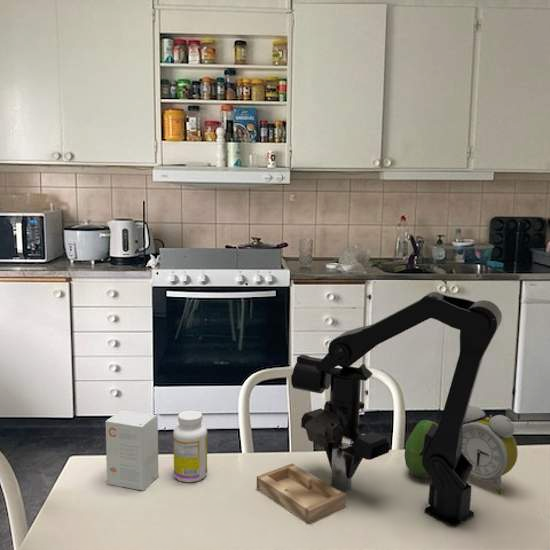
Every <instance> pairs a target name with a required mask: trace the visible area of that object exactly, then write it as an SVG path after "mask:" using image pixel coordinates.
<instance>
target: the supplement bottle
mask: <svg viewBox="0 0 550 550" xmlns="http://www.w3.org/2000/svg"><path fill="white" fill-rule="evenodd" d="M177 421H178V425H177V426H176V427H174V429H173V435H172V436H173V439H172V440H173V476H174V477H175V479H176V480H178V481H180V482H184V483H194V482H195V483H196V482H199V481H201V480H202V479H204V478H206V476H207V473H208V429H207V428H206V426H205V424H203V423H202V422H203V414H202V412H201V411H198V410H185V411H182V412H180V413H178V417H177Z"/></svg>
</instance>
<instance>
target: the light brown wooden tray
mask: <svg viewBox="0 0 550 550" xmlns="http://www.w3.org/2000/svg"><path fill="white" fill-rule="evenodd" d="M256 489H257V490H258V491H259V492H260V493H262V494H263V495H265V496H267V497H268V498H270V499H272V500H273V501H274V502H276V503H277V504H278V505H280V506H282V507H283V508H284V509H286V510H288V512H290V513H292V514H294V515H295V516H297V518H299V519H301V520H303V521H304V522H305V523H307V524H309V525H310V524H311V523H314V522H315V521H318V520H321V519H322V518H325V517H327V516H329V515H331V514H333V513H336V512H339V510H342V509H344V508H346V500H347V498H346V493H344V492H343V491H339V490H337V489H335V488H334V487H332V486H331V484H328V483H326V482H325V481H323V480H321V479H320V478H318V477H316V476H315V475H313V474H311V473H309V472H308V471H306V470H304V469H302V468H300V467H299V466H298V465H295V464H294V463H290V464H286V465H285V466H281V467H279V468H276V469H274V470H270V471H268V472H265V473H262V474H259V475H257V476H256Z"/></svg>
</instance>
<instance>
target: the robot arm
mask: <svg viewBox="0 0 550 550" xmlns="http://www.w3.org/2000/svg"><path fill="white" fill-rule="evenodd" d="M430 319H433V320H436V321H439V322H440V323H442V324H443V325H444V324H445V325H446V326H449V327H450V328H453V329H456V330H459V354H458V355H459V356H458V359H457V362H456V364H455V365H456V366H455V369H454V372H453V376H452V380H451V382H450V387H449V390H448V393H447V397H446V401H445V403H444V407H443V411H442V414H441V418H440V422H439V424H438V426H437V425H435V424H434V423H432V425H431V426H430V428H429V430H428V431H427V433H426V434H425V439H424V447H423V449H422V450H421V452H420V454H419V455H420V456H422V455H423V458H422V466H423V467H424V469H425V470H426V472H427V473H428V474H429V475H430V477H429V478H430V481H431V483H429V490H428V491H429V492H428V502H427V503H428V505H429V506H427V507H425V508H424V513H426V514H428V515H430V516H432V517H433V518H435V519H438V520H439V521H441V522H443V523H444V524H447V525H449V526H450V527H453V528H455V527H458V526H459V525H461V524H463V523H464V522H466V521H468V520H469V519H471V518H473V517H475V512H474V511H473V510H471V497H472V488H473V487H472V485H470V484H469V483H468V481H469V478H470V477H471V475H470V473H471V470H472V468H473V466H472V464H471V463H470V462H469V461H468V460H467V458H466V457H465V456H464V455H463V454H462V442H463V424H465V422H464V419H465V416H466V413H467V409H468V406H469V405H470V403H471V398H472V397H473V396H472V395H473V392H474V390H475V386H476V382H477V378H478V375H479V371H480V369H481V365H482V362H483V357H484V355H485V353H486V351H487V350H488V348H489V346H490V344H491V342H492V340H493V338H494V336H495V334H496V332H497V331H498V329H499V327H500V325H501V322H502V319H503V315H502V311H501V310H500V308H499V306H498V305H496V304H495V303H494V302H492V301H490V300H483V299H482V300H477V301H474V300H473V301H472V300H470V299H466V298H463V297H455V296H450V295H447V294H442V293H440V292H438V291H431V292H429V293H427V294H426V295H425V296H423V297H422V298H421V299H418V300H417V301H415V302H413V303H411V304H409V305H407V306H405V307H404V308H401V309H399V310H398V311H395V312H394V313H392V314H389V315H388V316H386V317H384V318H382V319H380V320H378V321H377V322H375V323H371V324H368V325H365V326H359V327H357V328H353V329H351V330H346V331H345V332H343V333H341V334H340V335H338V336H337V337H335V338H334V339H332V340H331V341H330V342H329V343H328V347H327V351H328V352H327V354H325V356H324V357H323V358H320V357H314V356H309V355H307V354H300V355H298V356H297V357H296V362H295V365H294V366H293V370H292V374H291V375H290V382H291V386H292V388H293V389H295V390H300V391H305V392H311V393H314V394H315V393H317V394H323V393H324V392H325V390H328V389H330V391H329V392H330V393H329V400H328V401H325V403H324V405H323V408H316V409H314V410H310V411H308V412H304V413H303V415H302V417H301V418H300V419H301V420H300V421H301V422H300V423H301V425H300V427H301V428H303V429H304V430H305V431H306V435H307V439H308V441H309V442H313V443H315V444H316V445H318V446H319V447H321V448H324V450H325V453H326V456H327V459H328V463H329V467H330V469H331V468H332V446H333V445H334V444H336V443H343V439H344V440H347V441H349V442H350V447H347V448H345V449H342V450H343V451H344V453H345V454H346V455H347V469H346V472H347V478H348V479H350V478H353V477H354V475H355V473H356V471H357V470H358V467H359V466H360V464H361V462H362V461H363V459H364V460H369V461H371V460H373V459H374V460H375V459H376V458H379V457H381V456H384V455H386V454H388V453H390V441H389V439H388V438H387V437H385V436H383V435H381V434H379V433H377V432H374V431H371V432H368V433H360V432H359V430H362V429H364V423H363V422H361V421H360V410H363V409H364V408H365V402H362V401H361V389H362V381H364V382H366V381H368V380H369V379H370V378H371V377H372V376H373V372H372V371H370V369H369V368H368V367H366V364H364V363H363V364H361V365H360V366H359V367H357V366H352V365H354V364H355V363H356V362H357V361H359V360H360V359H361V358H362V357H364V356H365V355H366V354H368V353H369V352H370V351H371V350H373V349H374V348H376V347H377V346H378V345H380V344H382V343H385V342H386V341H388V340H390V339H392V338H394V337H396V336H398V335H400V334H402V333H403V332H406V331H408V330H409V329H412V328H414V327H416V326H418V325H420V324H421V323H423V322H425V321H428V320H430Z"/></svg>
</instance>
